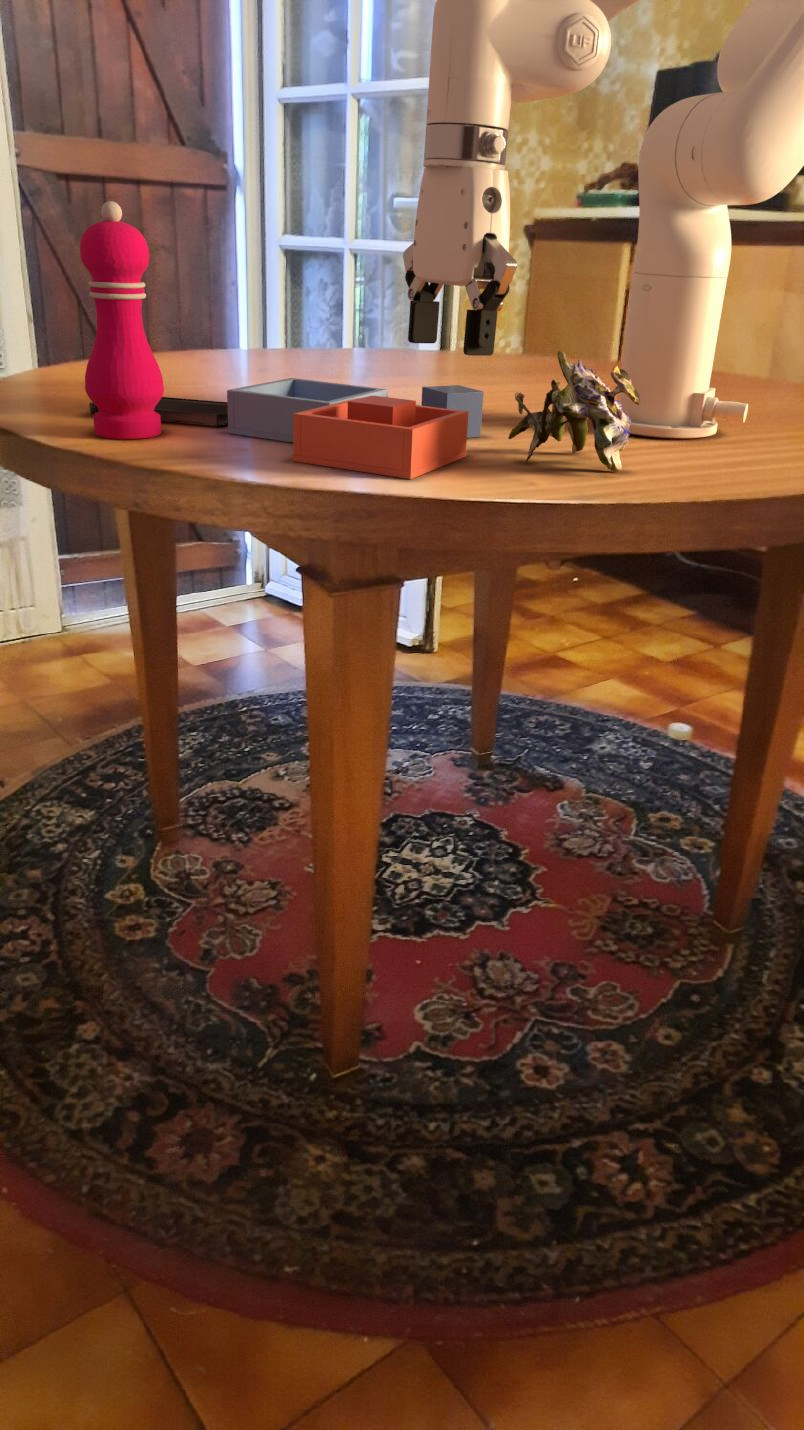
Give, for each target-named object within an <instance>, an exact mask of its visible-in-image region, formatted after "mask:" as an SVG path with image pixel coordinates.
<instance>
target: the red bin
mask: <svg viewBox="0 0 804 1430" xmlns="http://www.w3.org/2000/svg"><path fill="white" fill-rule="evenodd" d="M356 399H360V398H356ZM356 399H352V400H356ZM348 401H351V400H348ZM348 401H344V402H339V403H335V404H331V405H327V406H323V407H319V408H315V409H311V410H307V411H302V412H298V413H294V414H293V443H292V445H293V446H292V447H293V449H292V450H293V455H292V461H293V462H296V463H304V464H310V465H315V466H316V465H317V466H322V467H329V468H336V469H341V470H346V471H347V470H348V471H353V472H354V471H355V472H359V473H361V472H362V473H368V474H373V475H380V476H387V477H393V478H400V479H405V480H412V479H414V478H417V477H419V476H422V475H424V474H427V473H429V472H431V471H434V470H437V469H439V468H442V467H443V466H446V465H448V464H449V465H450V464H451V463H453V462H456V461H458V460H460V459H463V458H465V457H466V456H467V445H468V444H467V442H468V438H467V430H468V415H469V412H468V411H460V410H453V409H445V408H436V407H428V406H421V404H420V405H419V404H416V411H415V425H414V426H411V427H403V426H396V425H388V424H381V423H373V422H366V421H358V420H351V419H348Z"/></svg>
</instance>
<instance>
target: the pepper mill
mask: <svg viewBox="0 0 804 1430" xmlns="http://www.w3.org/2000/svg"><path fill="white" fill-rule="evenodd" d="M100 213H101V217H102V218H103V221H99V222H96V223H92V224H91V225H90V226H88V227H87V228H86V229H85V231H84V232H83V233H82V235H81V238H80V242H79V255H80V257H79V258H80V261H81V263H82V265H83V267H84V268H85V270H87V272H88V273H89V274H90V276H91V280H89V281H88V283H87V284H88V286H89V293H88V295H89V297H91V298H93V299H94V305H95V311H96V332H95V337H94V338H95V339H94V342H93V346H92V349H91V352H90V355H89V358H88V361H87V363H86V368H85V373H84V390H85V393H86V395H87V397H88V398H89V400H90V402H93V403H94V404H95V405H96V406H97V407H98V409H99V412H97V413H95V414H94V415H92V418H93V419H92V420H93V431H94V433H95V435H96V436H98V437H101V438H105V439H113V440H144V439H150V438H155V437H158V436H160V434H162V421H161V416H160V415H159V414H158V413H157V412H154V408H155V406H156V405H157V403H158V402H159V401H160V399H161V398H162V397H164V396H163V395H164V394H165V384H164V378H163V374H162V371H161V368H160V365H159V364H158V361H157V359H156V357H155V355H154V353H153V351H152V349H151V346H150V344H149V342H148V339H147V336H146V333H145V329H144V322H143V321H144V320H143V313H142V310H143V309H142V308H143V300H144V299H146V298H147V294H146V293H145V291H146V290H145V287H146V283H145V282H144V281H141V280H142V276H143V274H144V273H145V271H147V269H148V267H149V264H150V250H149V247H148V243H147V241H146V239H145V237H144V235H143V234H142V232H140V230H138V229H137V228H136V227H134V226H132V225H131V224H129V223H126V222H123V221H121V220H122V217H123V211H122V207H121V206H120V205H119V204H118V203H117V202H115V201H112V200H108V201H106V202H104V203H103V204H102V206H101V209H100Z"/></svg>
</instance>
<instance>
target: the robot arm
mask: <svg viewBox="0 0 804 1430" xmlns="http://www.w3.org/2000/svg"><path fill="white" fill-rule="evenodd" d="M639 1H640V0H436V1H435V4H434V8H433V16H432V31H431V46H430V47H431V48H430V59H429V60H430V61H429V73H428V74H429V76H428V77H429V78H428V89H427V90H428V93H427V105H426V106H427V107H426V120H425V121H426V123H425V134H424V135H425V136H424V152H423V164H422V165H423V173H422V178H421V182H420V187H419V193H418V194H419V195H418V201H417V206H416V214H415V215H416V216H415V223H414V232H413V233H414V234H413V243H412V244H410V245H409V246H408V247H407V248H406V249H405V250H404V251H403V253H402V258H403V259H402V260H403V264H404V269H405V276H404V279H405V282H406V285H407V287H408V289H407V298H408V300H409V301H410V302H409V318H408V333H407V341H408V342H409V343H411V344H436V343H437V340H438V329H439V316H440V302H441V301H436V299H437V297H438V295H439V294H440V292H441V290H442V288H443V286H444V285H447V286H457V287H464V288H465V291H466V294H467V297H468V300H469V302H470V305H471V308H472V309H466V315H465V325H464V338H463V350H462V351H463V354H464V355H465V356H474V357H475V356H480V357H481V356H484V357H485V356H487V357H489V356H492V355H493V354H494V352H495V342H496V332H497V321H498V312H500V311H502V309H503V304H504V303H503V301H504V300H505V299H506V298H507V296H508V294H509V293H510V289H511V287H510V285H511V283H512V281H513V278H514V276H515V273H516V271H517V267H518V263H517V260H516V259H515V258H514V257H513V256H512V255H511V253H510V238H511V237H510V236H511V234H510V233H511V190H510V177H509V171H508V170H506V169H505V168H506V158H507V150H508V149H507V147H508V138H509V137H508V136H509V130H510V120H511V119H510V118H511V109H512V107H511V105H512V102H514V103H530V102H535V101H539V100H544V99H553V98H559V97H565V96H568V95H572V94H575V93H578V92H580V91H582V90H583V89H585V88H587V87H589V86H590V85H591V84H592V83H594V82H595V81H596V80H597V79H598V77H599V76H600V75H601V74H602V72H603V71H604V69H605V67H606V65H607V63H608V61H609V58H610V54H611V49H612V48H611V47H612V32H611V27H610V25H609V22H610V21H611V20H612V19H613V18H615V17H616V16H618V15H619V14H620V13H622V12H623V11H625V10H626V9H627V8H630V7H631V6H633V5H634V4H636V3H638V2H639ZM716 76H717V82H718V86H719V88H720V90H721V91H719V92H713V93H712V92H711V93H707V94H700V95H694V96H690V97H687V98H683V99H680V100H678V101H676V102H674V103H672V104H670V105H669V106H667V107H666V108H664V109H663V110H662V111H661V112H660V113H659V114H658V115H657V116H656V117H655V118H654V120H653V121H652V122H651V124H649V127H648V128H647V130H646V132H645V134H644V136H643V140H642V142H641V146H640V150H639V157H638V172H637V173H638V175H637V176H638V177H637V178H638V199H639V200H638V201H639V202H638V204H639V208H638V209H639V210H638V211H639V216H638V231H637V232H638V233H637V243H636V250H635V251H636V252H635V261H634V268H633V273H632V281H631V290H630V296H629V305H628V312H627V320H626V327H625V335H624V344H623V351H622V359H621V365H620V366H621V367H620V369H624V370H625V371H626V372H627V373H628V377H629V378H630V379H631V382H632V384H633V386H634V387H635V389H636V390H637V392H638V394H639V397H640V401H641V404H640V405H637V404H635V403H634V402H633V401H632V400H631V399H630V398H629V396H628V395H627V394H625V393H623V392H621V393H618V394H617V396H616V397H617V398H616V400H617V401H620V404H621V405H622V410H623V413H624V414H626V415H628V416H629V420H631V425H630V426H629V430H630V433H629V434H630V435H635V436H640V437H641V436H642V437H651V438H662V439H663V438H664V439H699V438H707V437H711V436H713V435H715V434H717V431H718V422H717V420H716V419H719V420H726V421H729V422H737V423H745V421H746V420H747V416H748V411H749V403H746V402H739V401H731V400H728V401H726V400H719V397H716V396H715V395H716V387H710V385H711V384H710V383H711V377H712V373H713V366H714V360H715V354H716V347H717V342H718V335H719V330H720V323H721V317H722V311H723V305H724V299H725V294H726V287H727V281H728V278H729V272H730V271H729V270H730V264H731V258H732V256H731V255H732V230H731V222H730V216H729V210H728V206H747V205H755V204H759V203H762V202H765V201H767V200H769V199H772V198H773V197H774V196H776V195H777V194H778V193H780V192H781V191H783V190H784V189H785V188H786V187H787V186H788V185H789V184H790V182H792V180H793V179H794V178H795V177H796V176H797V175H798V174H799V173H800V171H801V170H802V169H803V168H804V0H751V1H750V3H749V4H748V5H747V7H745V9H744V11H743V12H742V13H741V14H740V16H739V17H738V19H737V20H736V22H734V25H733V27H732V28H731V29H730V31H729V32H728V34H727V36H726V38H725V40H724V42H723V43H722V45H721V49H720V52H719V55H718V60H717V67H716ZM481 290H482V292H481Z"/></svg>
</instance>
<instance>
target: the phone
mask: <svg viewBox="0 0 804 1430" xmlns="http://www.w3.org/2000/svg"><path fill="white" fill-rule="evenodd" d="M97 412H99V409H98V407H97V406H96V405H95V404H94V403H93V402H92V401H89V413H90V415H91V416H93V415H94V414H95V413H97ZM154 412H157V413H158V414H159V415H160V416H161V422H166V423H179V424H190V425H200V426H201V425H202V426H216V427H217V426H227V425H228V407H227V401H218V400H207V399H193V398H183V397H182V398H181V397H171V396H170V397H169V396H162V398H161V399H160V401H159V402H158V403H157V405H156V406H155V408H154Z"/></svg>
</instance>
